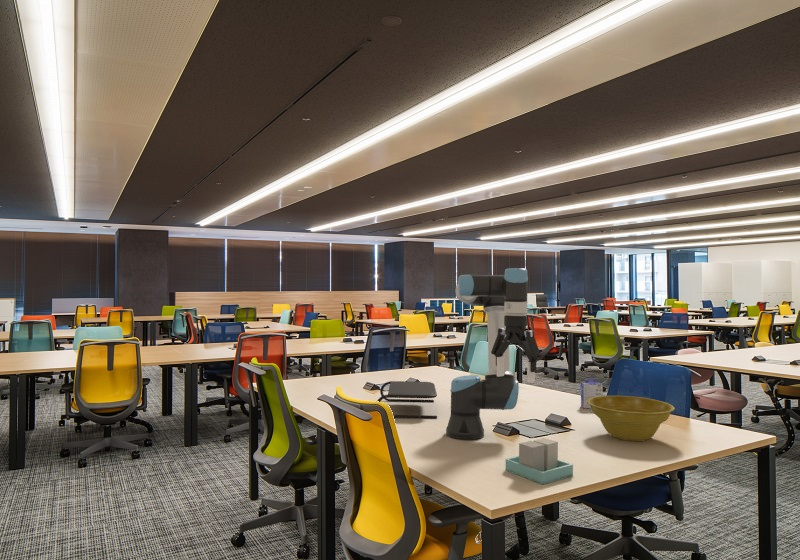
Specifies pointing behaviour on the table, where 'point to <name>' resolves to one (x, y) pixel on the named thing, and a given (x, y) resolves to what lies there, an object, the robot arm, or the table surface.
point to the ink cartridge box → (590, 391)
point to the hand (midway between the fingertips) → (515, 379)
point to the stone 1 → (532, 455)
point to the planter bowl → (630, 415)
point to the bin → (536, 475)
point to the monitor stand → (409, 394)
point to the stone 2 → (549, 453)
